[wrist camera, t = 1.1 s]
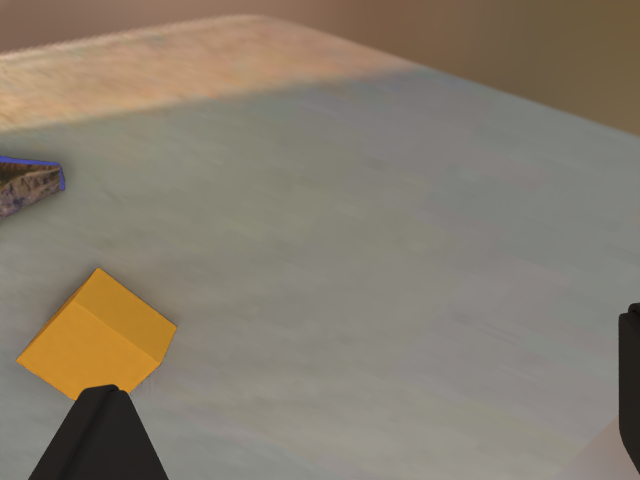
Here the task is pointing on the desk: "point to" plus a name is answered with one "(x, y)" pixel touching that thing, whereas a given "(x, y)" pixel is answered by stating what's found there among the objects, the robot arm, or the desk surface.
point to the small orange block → (99, 339)
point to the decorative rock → (27, 182)
